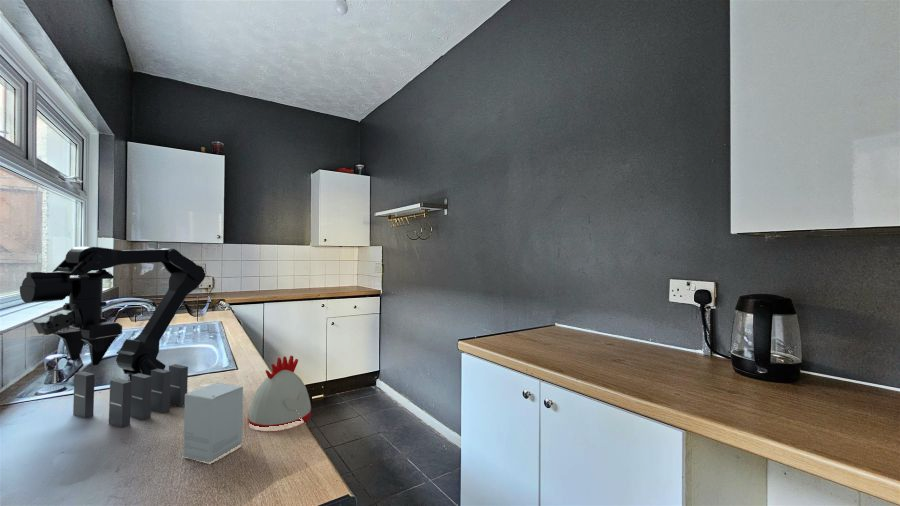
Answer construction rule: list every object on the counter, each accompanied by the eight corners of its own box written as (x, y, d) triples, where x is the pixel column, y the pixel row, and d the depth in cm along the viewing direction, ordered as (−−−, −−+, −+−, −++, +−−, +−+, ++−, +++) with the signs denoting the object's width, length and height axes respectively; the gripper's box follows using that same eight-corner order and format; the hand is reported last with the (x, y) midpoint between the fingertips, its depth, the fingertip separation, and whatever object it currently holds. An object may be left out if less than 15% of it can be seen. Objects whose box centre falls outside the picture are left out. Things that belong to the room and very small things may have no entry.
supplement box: (243, 447, 76) (244, 386, 76) (209, 466, 69) (211, 398, 69) (216, 440, 78) (218, 381, 78) (181, 458, 71) (183, 393, 71)
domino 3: (138, 414, 90) (139, 373, 90) (150, 417, 88) (152, 376, 88) (129, 416, 88) (131, 375, 89) (142, 420, 87) (144, 378, 87)
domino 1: (82, 411, 90) (83, 371, 91) (93, 415, 89) (95, 374, 89) (72, 414, 89) (74, 373, 89) (84, 418, 87) (85, 376, 87)
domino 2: (117, 420, 86) (118, 378, 86) (130, 425, 84) (131, 381, 84) (108, 424, 85) (109, 380, 85) (121, 428, 83) (122, 383, 83)
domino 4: (157, 407, 94) (158, 368, 94) (169, 411, 92) (170, 371, 92) (149, 410, 92) (150, 370, 92) (162, 413, 91) (163, 373, 91)
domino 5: (174, 401, 98) (175, 364, 98) (187, 404, 96) (188, 366, 96) (167, 404, 96) (168, 365, 96) (180, 407, 94) (181, 368, 95)
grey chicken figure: (322, 415, 92) (324, 355, 92) (270, 438, 80) (272, 369, 80) (288, 402, 99) (290, 347, 99) (236, 421, 87) (238, 358, 88)
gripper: (18, 299, 85) (17, 366, 85) (61, 305, 78) (59, 378, 78) (81, 294, 95) (80, 354, 95) (124, 299, 88) (122, 364, 88)
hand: (84, 362), depth 89 cm, fingers open, 9 cm apart
